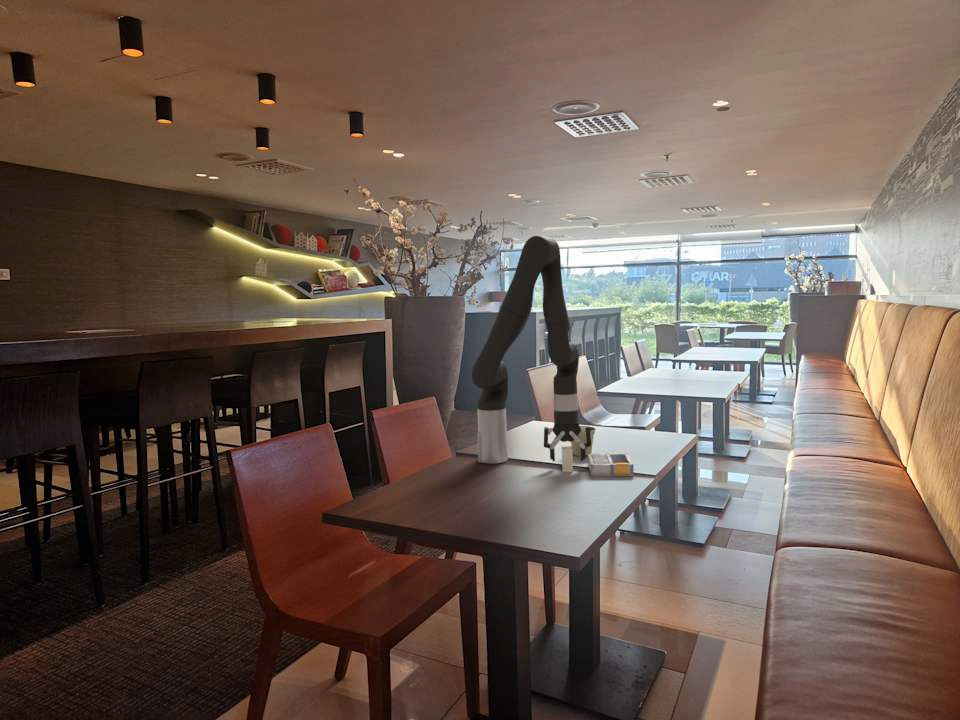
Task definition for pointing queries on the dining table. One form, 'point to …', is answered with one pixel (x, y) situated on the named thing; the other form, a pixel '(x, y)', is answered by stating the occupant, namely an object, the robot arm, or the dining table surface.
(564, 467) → the panel
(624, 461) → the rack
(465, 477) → the dining table surface
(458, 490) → the dining table surface
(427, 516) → the dining table surface
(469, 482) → the dining table surface
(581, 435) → the flower pot
